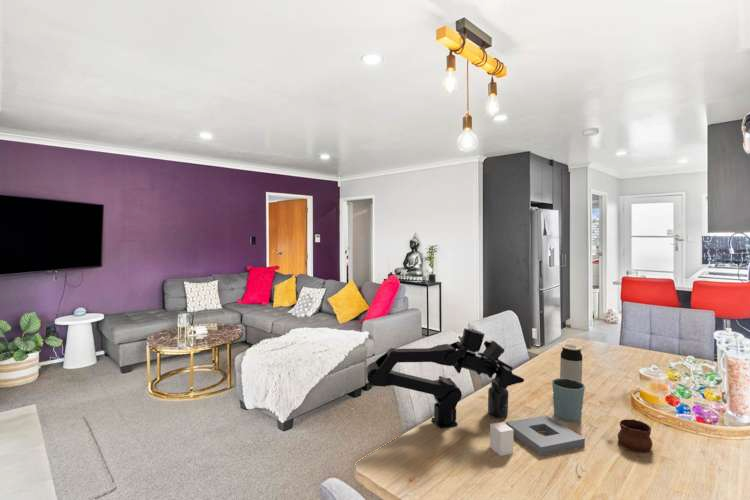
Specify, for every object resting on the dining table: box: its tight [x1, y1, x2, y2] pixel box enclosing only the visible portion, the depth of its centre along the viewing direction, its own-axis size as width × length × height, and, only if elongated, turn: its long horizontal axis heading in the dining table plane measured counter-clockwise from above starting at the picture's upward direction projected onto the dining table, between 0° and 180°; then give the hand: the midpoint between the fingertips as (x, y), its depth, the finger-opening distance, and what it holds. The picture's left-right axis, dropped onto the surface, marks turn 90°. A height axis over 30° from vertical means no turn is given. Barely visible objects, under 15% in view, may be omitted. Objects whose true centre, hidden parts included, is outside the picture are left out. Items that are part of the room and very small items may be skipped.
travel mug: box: [559, 343, 583, 383], centre depth 161 cm, size 8×8×18 cm
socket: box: [505, 414, 586, 456], centre depth 123 cm, size 16×16×2 cm
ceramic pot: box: [617, 418, 653, 464], centre depth 119 cm, size 18×18×7 cm
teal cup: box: [551, 377, 586, 424], centre depth 137 cm, size 10×10×12 cm
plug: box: [489, 421, 514, 457], centre depth 116 cm, size 4×5×7 cm
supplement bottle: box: [487, 378, 509, 419], centre depth 139 cm, size 7×7×12 cm
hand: (517, 374), depth 134 cm, fingers open, 9 cm apart
